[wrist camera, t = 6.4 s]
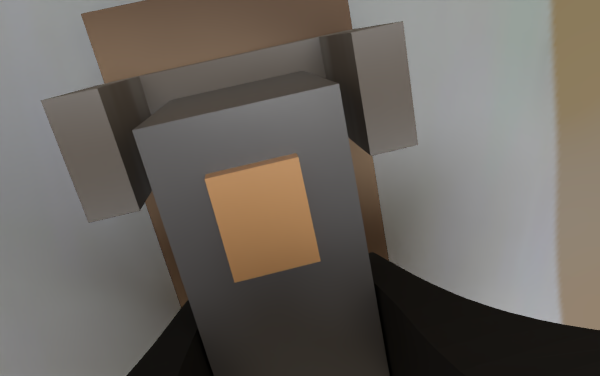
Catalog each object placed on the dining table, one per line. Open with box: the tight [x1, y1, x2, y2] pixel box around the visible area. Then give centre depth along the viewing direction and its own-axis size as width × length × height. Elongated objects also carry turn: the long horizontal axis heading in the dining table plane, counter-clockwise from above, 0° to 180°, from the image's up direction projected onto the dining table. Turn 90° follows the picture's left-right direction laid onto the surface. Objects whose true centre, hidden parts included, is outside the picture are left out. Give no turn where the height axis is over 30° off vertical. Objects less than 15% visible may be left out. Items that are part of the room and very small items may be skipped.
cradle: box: [41, 0, 418, 308], centre depth 13 cm, size 16×7×6 cm, turn 12°
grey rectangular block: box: [132, 71, 390, 376], centre depth 11 cm, size 12×4×5 cm, turn 12°
